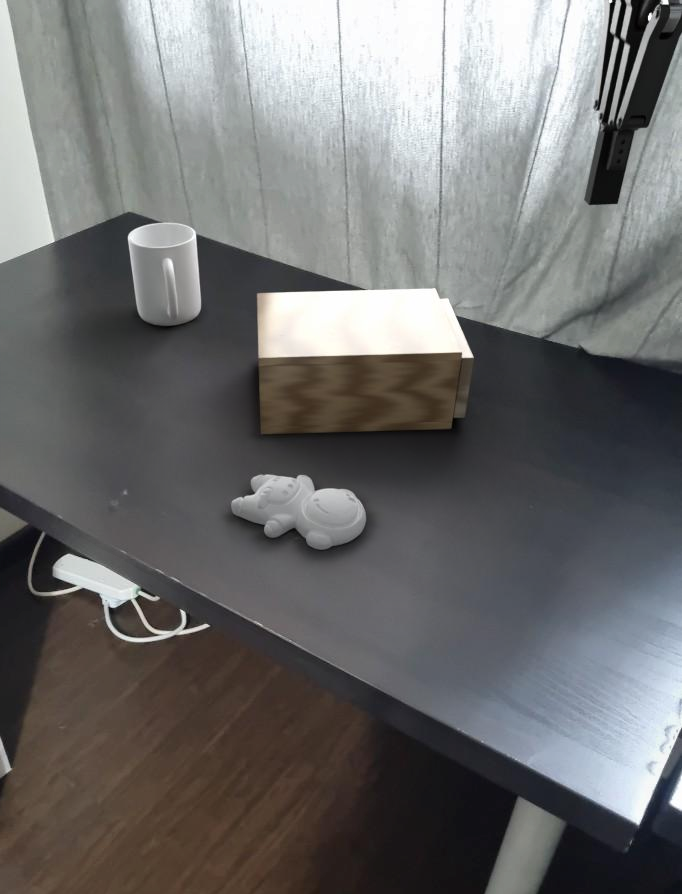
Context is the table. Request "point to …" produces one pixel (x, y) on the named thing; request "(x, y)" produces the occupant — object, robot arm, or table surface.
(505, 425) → the table surface
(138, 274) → the cup
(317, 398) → the cabinet
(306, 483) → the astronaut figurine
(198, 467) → the table surface
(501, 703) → the table surface
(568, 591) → the table surface
